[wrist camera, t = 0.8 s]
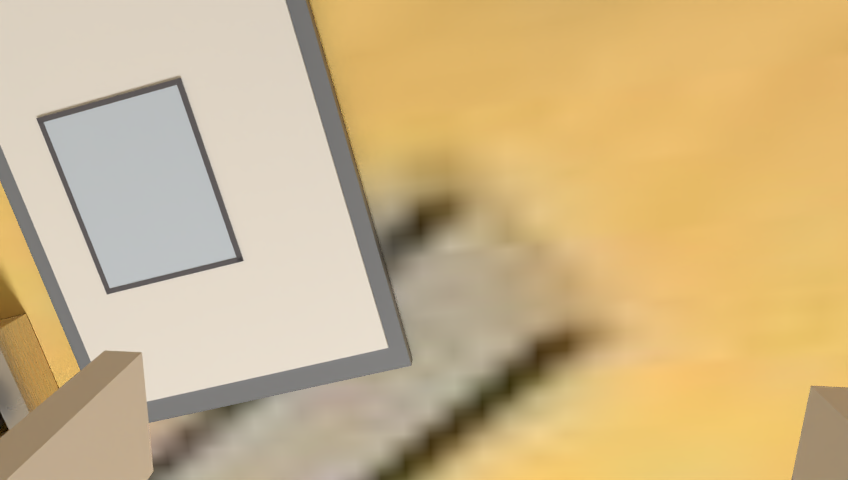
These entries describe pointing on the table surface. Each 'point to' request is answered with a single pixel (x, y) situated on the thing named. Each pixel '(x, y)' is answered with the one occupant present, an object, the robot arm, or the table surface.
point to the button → (1, 420)
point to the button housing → (22, 371)
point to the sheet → (193, 195)
